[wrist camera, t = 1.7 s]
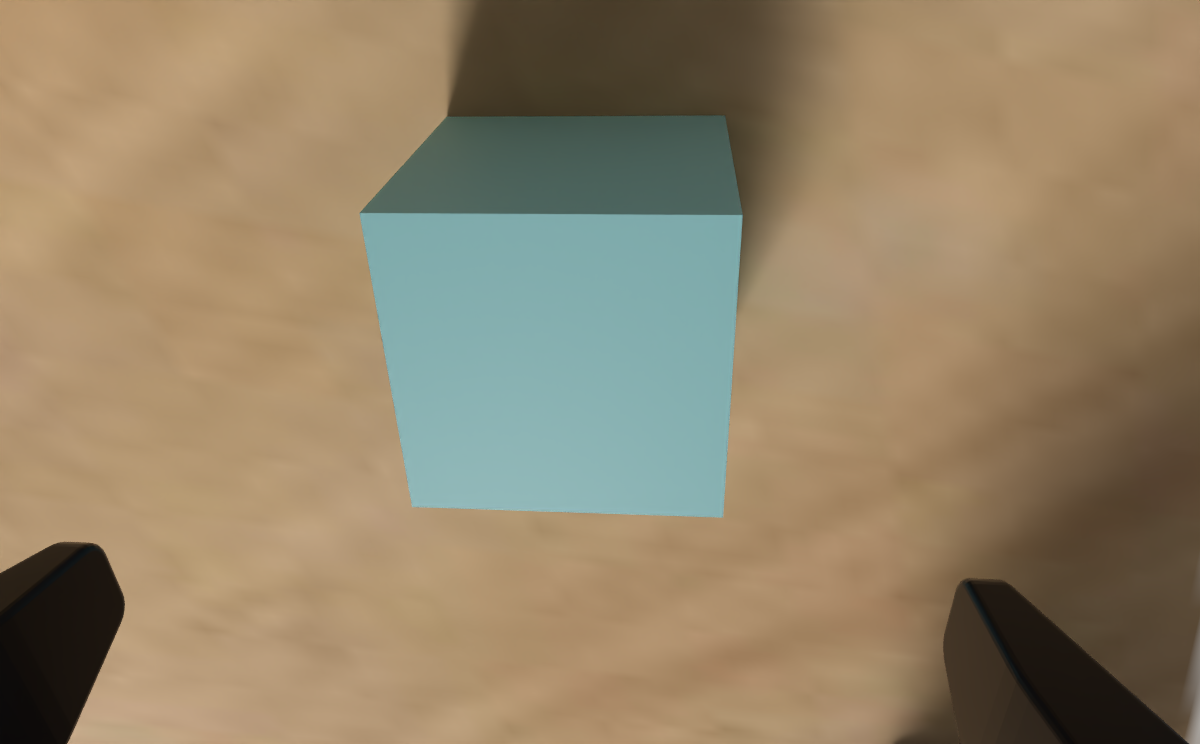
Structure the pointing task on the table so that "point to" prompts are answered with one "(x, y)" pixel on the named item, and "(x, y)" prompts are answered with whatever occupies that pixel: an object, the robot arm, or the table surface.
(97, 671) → the robot arm
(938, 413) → the table surface
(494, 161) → the teal block
